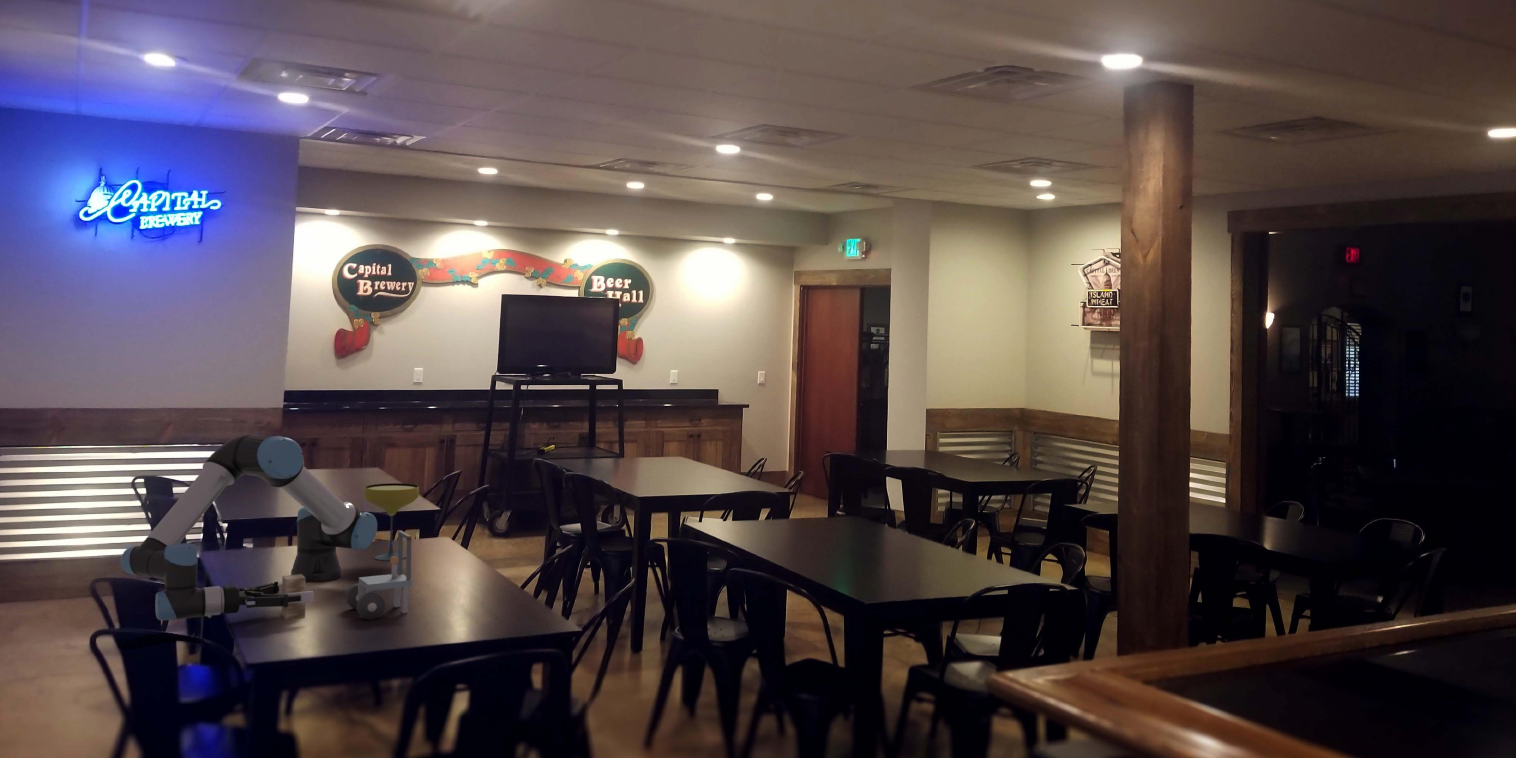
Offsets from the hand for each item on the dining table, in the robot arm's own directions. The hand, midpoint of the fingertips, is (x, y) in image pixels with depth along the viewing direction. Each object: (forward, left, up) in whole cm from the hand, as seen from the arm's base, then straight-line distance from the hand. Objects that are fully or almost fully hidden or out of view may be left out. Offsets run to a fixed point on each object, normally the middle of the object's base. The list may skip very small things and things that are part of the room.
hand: (308, 591), depth 302 cm
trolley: (-10, +15, -7) cm, 19 cm away
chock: (+3, -2, -7) cm, 8 cm away
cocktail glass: (-72, -30, -7) cm, 78 cm away
